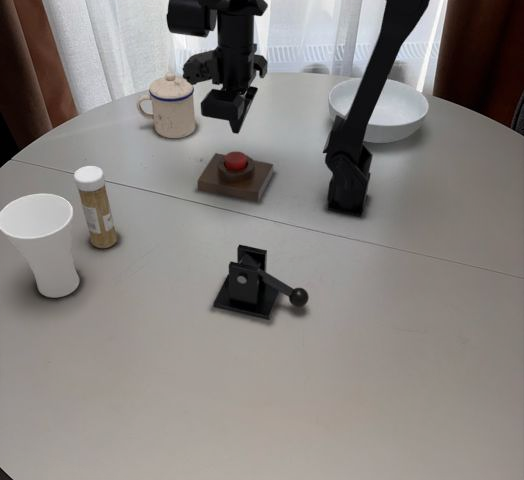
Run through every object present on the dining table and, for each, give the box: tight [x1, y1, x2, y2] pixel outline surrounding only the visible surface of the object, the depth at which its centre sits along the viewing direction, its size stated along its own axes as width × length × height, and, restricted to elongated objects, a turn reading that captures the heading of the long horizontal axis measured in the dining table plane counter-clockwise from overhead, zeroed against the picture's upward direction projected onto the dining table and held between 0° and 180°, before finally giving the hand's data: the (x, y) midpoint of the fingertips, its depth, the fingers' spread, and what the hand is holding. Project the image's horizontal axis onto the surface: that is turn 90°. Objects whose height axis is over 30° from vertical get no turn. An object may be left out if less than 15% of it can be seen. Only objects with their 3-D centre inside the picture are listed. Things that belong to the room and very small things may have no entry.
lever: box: [239, 253, 310, 308], centre depth 87 cm, size 12×3×3 cm, turn 73°
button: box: [225, 151, 247, 171], centre depth 109 cm, size 4×4×2 cm
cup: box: [0, 193, 80, 299], centre depth 88 cm, size 10×10×14 cm
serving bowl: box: [327, 77, 430, 144], centre depth 123 cm, size 21×21×7 cm
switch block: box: [197, 152, 274, 203], centre depth 111 cm, size 12×10×4 cm
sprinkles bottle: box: [73, 165, 118, 249], centre depth 95 cm, size 5×5×14 cm
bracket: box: [212, 244, 281, 321], centre depth 88 cm, size 9×7×9 cm
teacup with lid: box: [136, 71, 196, 139], centre depth 120 cm, size 12×9×12 cm
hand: (236, 132), depth 103 cm, fingers closed
